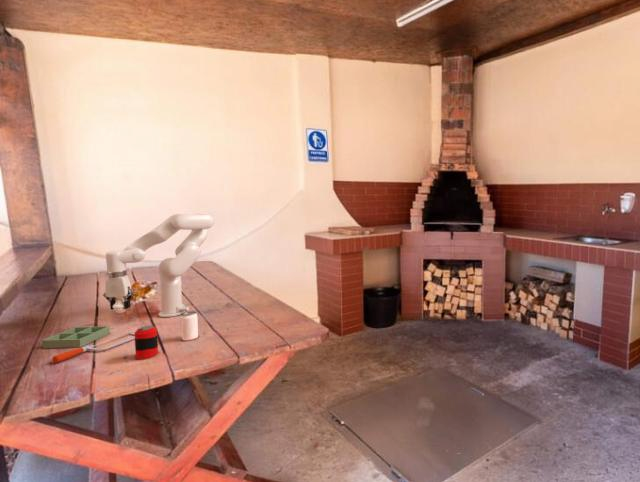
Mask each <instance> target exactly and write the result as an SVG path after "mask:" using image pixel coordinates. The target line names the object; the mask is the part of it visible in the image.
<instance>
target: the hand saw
mask: <svg viewBox="0 0 640 482" xmlns="http://www.w3.org/2000/svg"><path fill="white" fill-rule="evenodd" d="M127 335H132V337H130V338H129V337H128V338H127V339H124V340H122V341H121V340H120V341H118V342H116V343H113V344H111V345H108V346H105V347H99V348H98V347H96V346H99V345H102V344H104V343H107V342H110V341H114V340H115V339H119V338H121V337H124V336H127ZM133 340H135V332H132V331H130V332H127V333H126V334H123V335H120V336H118V337H115V338H111V339H109V340H105V341H103V342H100V343H97V344H95V345H94V344H91V345H89V344H86V345H84V346H82V347H77V348H74V349H71V350H67V351H64V352H62V353H59V354H58V353H57V354H55V355H54V356H52V359H51V360H52V362H53V364H58V363H61V362H64V361H66V360H69V359H71V358H74V357H77V356H78V355H81V354H83V353H86V352H88V351H93V352H95V351H96V352H97V351H100V352H101V351H105V350H108V349H111V348H114V347H117V346H119V345H122V344H125V343H127V342H130V341H133Z"/></svg>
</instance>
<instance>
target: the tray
mask: <svg viewBox="0 0 640 482" xmlns="http://www.w3.org/2000/svg"><path fill="white" fill-rule="evenodd" d="M110 329H111V328H110V325H105V326H103V325H102V326H101V325H100V326H74V327H72V328H69V329H66V330H64V331H62V332H59V333H57V334H54V335H52V336H49V337H47V338H45V339H42V340H41V345H42V349H62V348H63V349H65V348H67V349H68V348H82V347H84V346H87V345H89V344H90V343H92V342H94V341H97V340H99V339H101V338H103V337H106V336H107V335H109V334H110V333H111V331H110Z"/></svg>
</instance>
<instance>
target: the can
mask: <svg viewBox="0 0 640 482" xmlns="http://www.w3.org/2000/svg"><path fill="white" fill-rule="evenodd" d="M198 320H199V319H198V314H197V311H195V310H194V311H193V310H192V311H186V312H185V313H183V314H181V317H180V324H181V325H180V327H181V340H182V341H184V342H187V341H188V342H189V341H193V340H195V339H198V337H199V321H198Z"/></svg>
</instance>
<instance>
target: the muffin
mask: <svg viewBox="0 0 640 482" xmlns="http://www.w3.org/2000/svg"><path fill="white" fill-rule="evenodd" d="M115 300H116V303H115V304H114V305H113V308H114V309H113V310H114V311H115V312H116V314H122V313H125V312H126V310H127V309H125V308H124V302H125V300H124V298H118V299H115Z"/></svg>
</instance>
